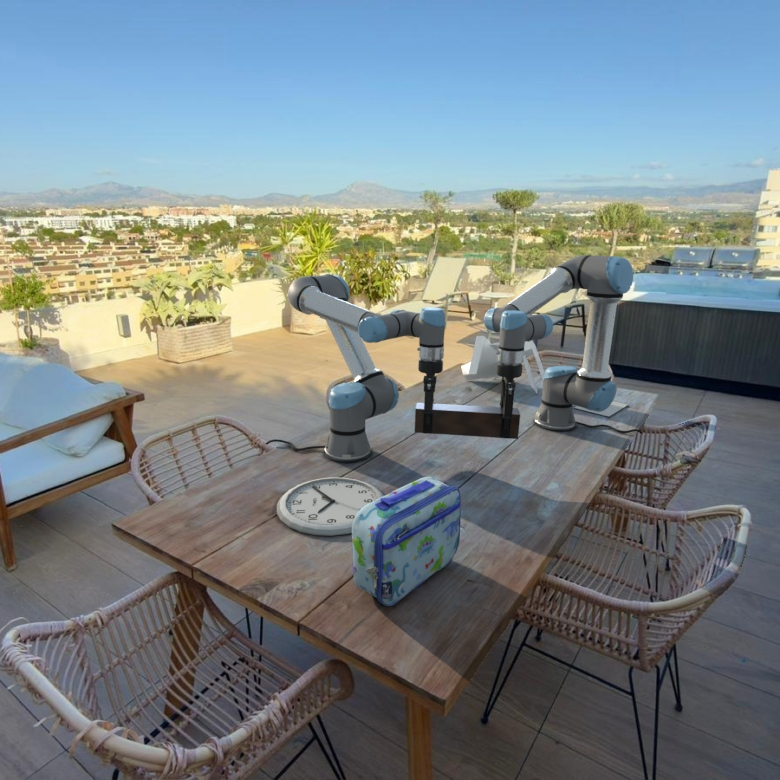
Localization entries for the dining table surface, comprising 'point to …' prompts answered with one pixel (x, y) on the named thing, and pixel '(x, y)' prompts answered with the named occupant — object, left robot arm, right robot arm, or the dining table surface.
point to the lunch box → (405, 538)
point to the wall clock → (325, 505)
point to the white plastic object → (496, 361)
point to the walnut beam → (467, 420)
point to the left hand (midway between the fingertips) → (427, 428)
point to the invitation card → (609, 411)
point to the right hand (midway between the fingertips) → (503, 433)
